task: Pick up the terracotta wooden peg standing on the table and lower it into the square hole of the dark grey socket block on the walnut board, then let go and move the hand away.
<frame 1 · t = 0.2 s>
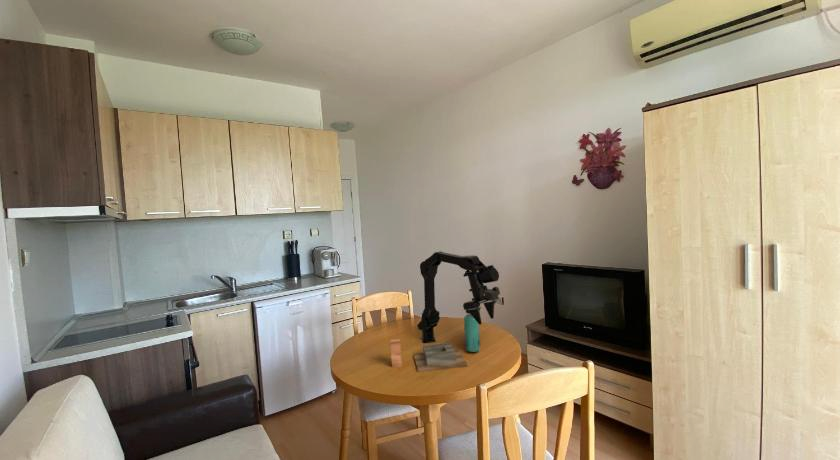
hand: (486, 321, 148), 15 cm above the table, tool pointing down, fingers open, 9 cm apart
beverage bottle: (473, 352, 155), on the table
socket board: (439, 360, 148), on the table
peg: (396, 364, 147), on the table
supplement bottle: (472, 342, 167), on the table
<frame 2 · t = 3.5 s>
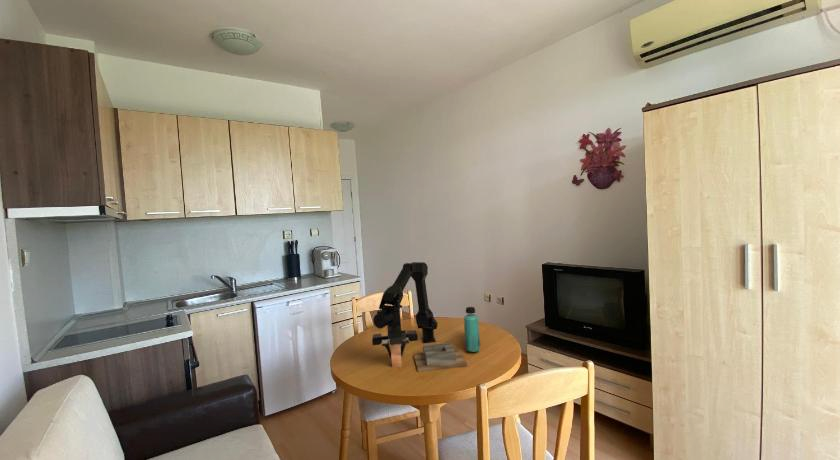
hand: (396, 357, 147), 3 cm above the table, tool pointing down, fingers closed on peg, 4 cm apart
peg: (396, 364, 147), on the table, touching gripper
everything else where it was.
when the fingers open (6 cm above the table, at t = 8.2 s): peg drops 2 cm, resting on socket board.
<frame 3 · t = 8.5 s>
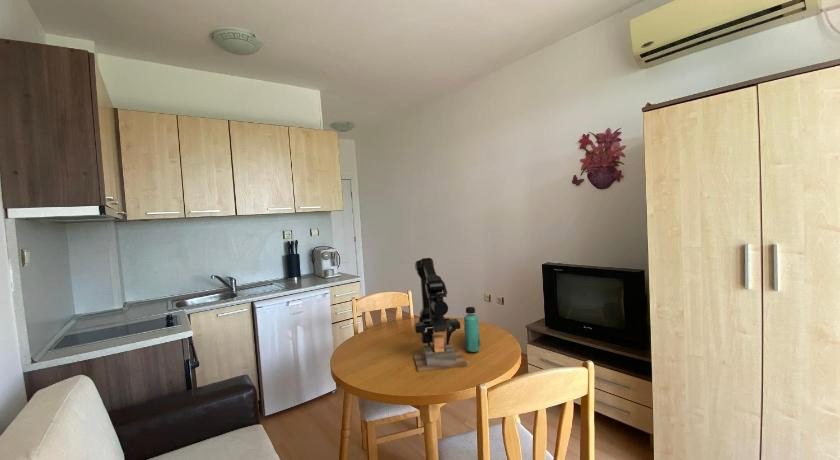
hand: (438, 345, 148), 6 cm above the table, tool pointing down, fingers open, 7 cm apart
peg: (439, 358, 148), point 1 cm above the table, touching socket board
everything else where it was.
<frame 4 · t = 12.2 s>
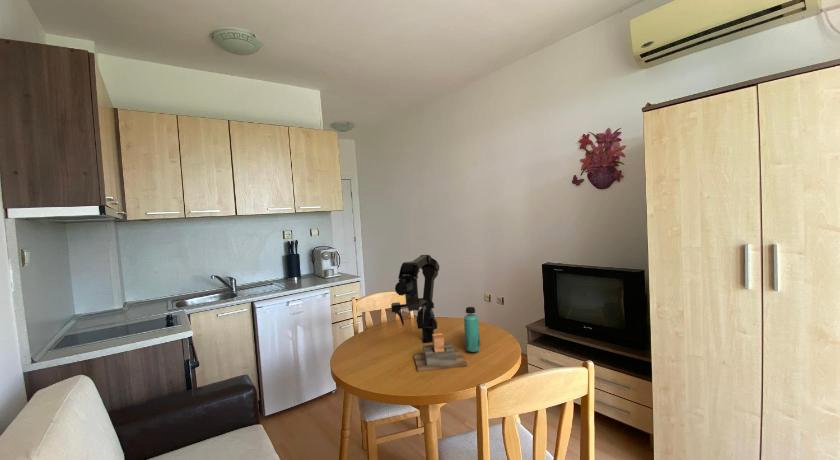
hand: (413, 324, 157), 13 cm above the table, tool pointing down, fingers open, 9 cm apart
nothing on the table moved.
at the end: peg 0.0 cm off-centre on the socket board, point 1.0 cm above the socket board's base; peg tilted 0°; the gripper is holding nothing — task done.
